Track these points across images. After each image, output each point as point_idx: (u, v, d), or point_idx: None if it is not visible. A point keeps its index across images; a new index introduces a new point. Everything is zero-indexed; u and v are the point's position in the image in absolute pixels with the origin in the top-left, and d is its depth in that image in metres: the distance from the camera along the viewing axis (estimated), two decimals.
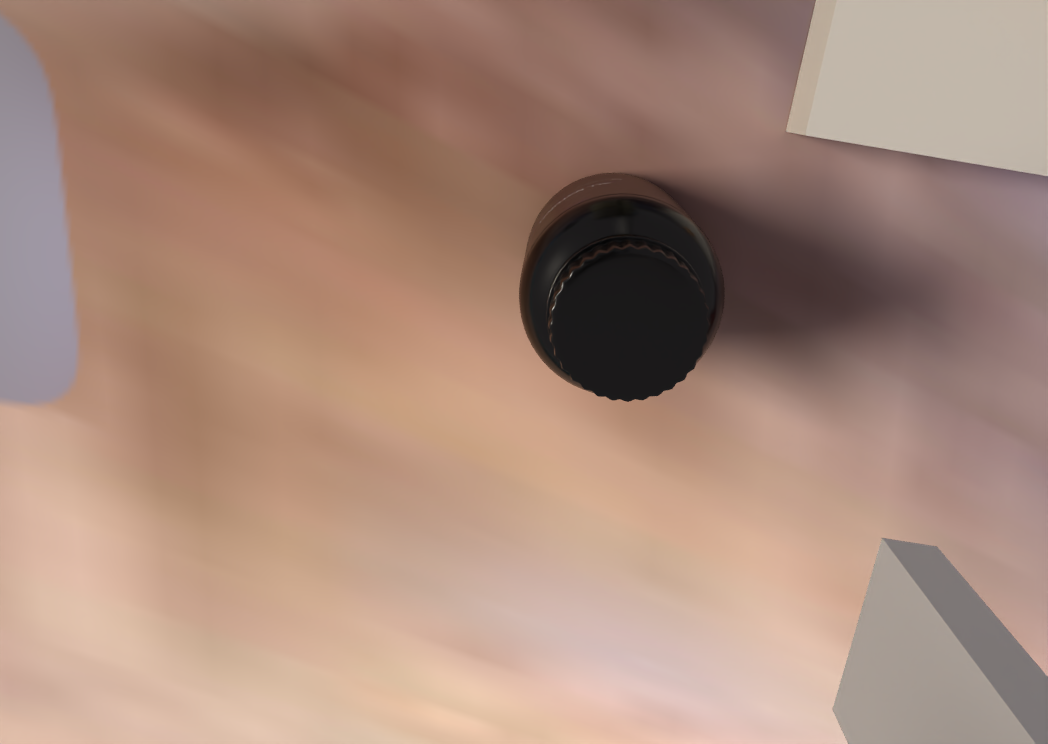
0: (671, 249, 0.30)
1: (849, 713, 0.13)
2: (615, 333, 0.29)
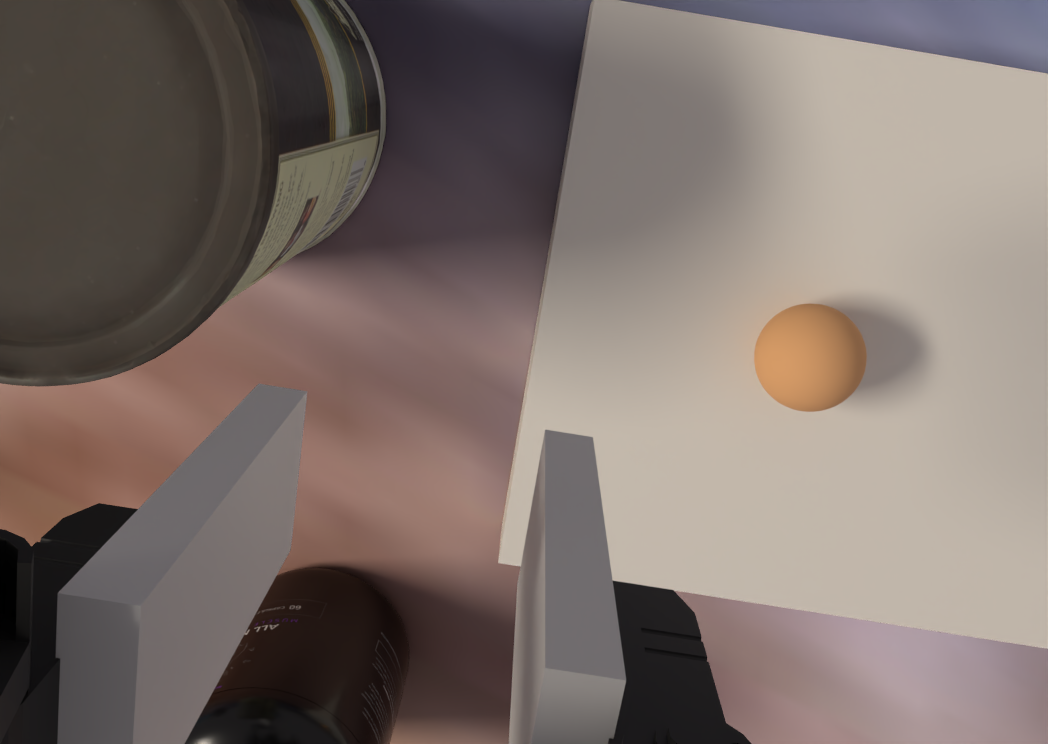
0: None
1: (519, 583, 0.15)
2: None
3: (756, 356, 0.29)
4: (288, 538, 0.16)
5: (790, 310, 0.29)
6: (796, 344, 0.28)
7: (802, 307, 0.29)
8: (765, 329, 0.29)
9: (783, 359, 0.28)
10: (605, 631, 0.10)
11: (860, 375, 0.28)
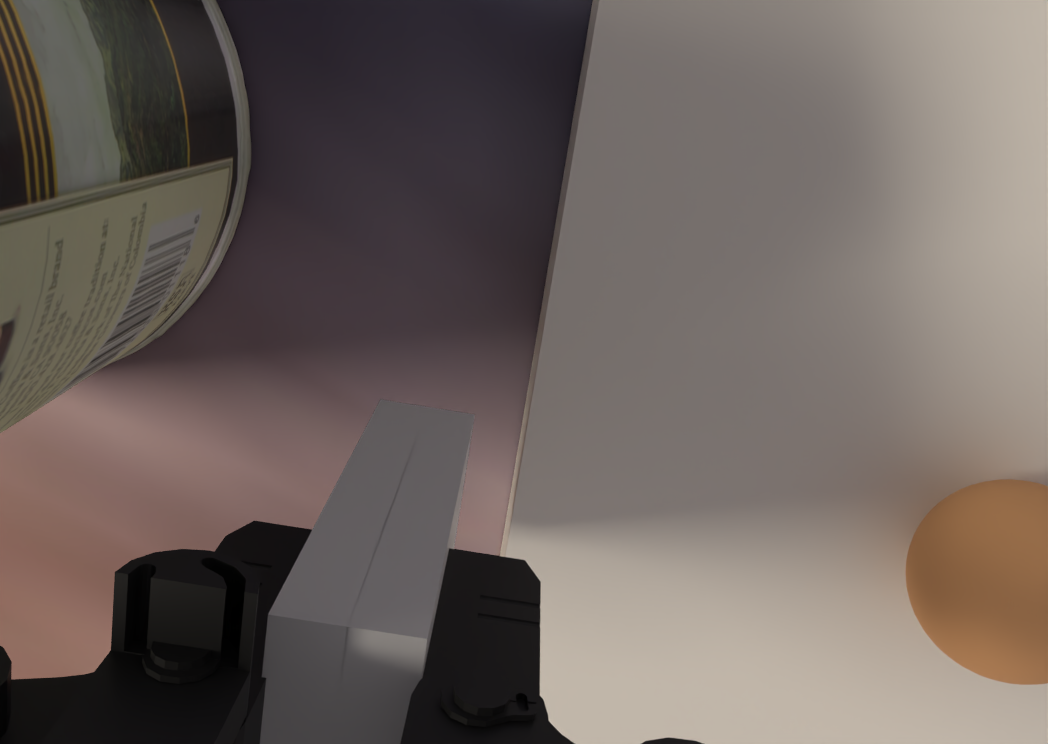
0: None
1: None
2: None
3: (915, 580, 0.16)
4: None
5: (982, 498, 0.15)
6: (1006, 575, 0.14)
7: (1005, 494, 0.15)
8: (933, 530, 0.16)
9: (979, 601, 0.15)
10: (421, 594, 0.10)
11: None
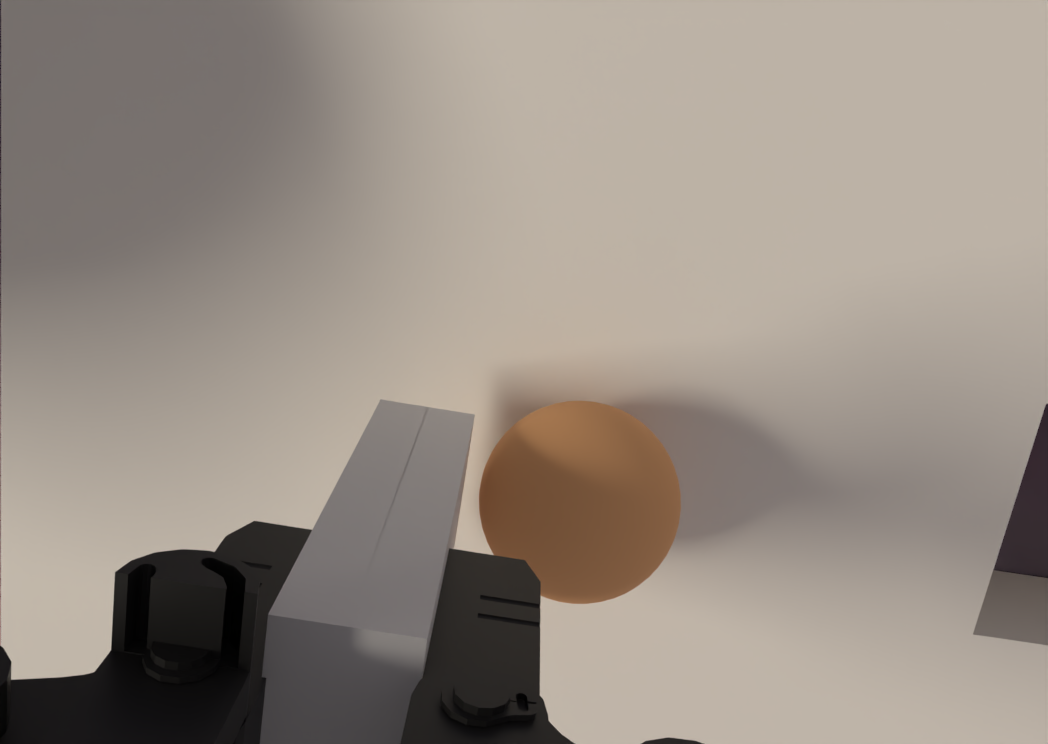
0: None
1: None
2: None
3: (552, 555, 0.14)
4: None
5: (581, 445, 0.14)
6: (647, 511, 0.14)
7: (594, 431, 0.15)
8: (554, 498, 0.14)
9: (632, 546, 0.14)
10: (422, 594, 0.10)
11: None
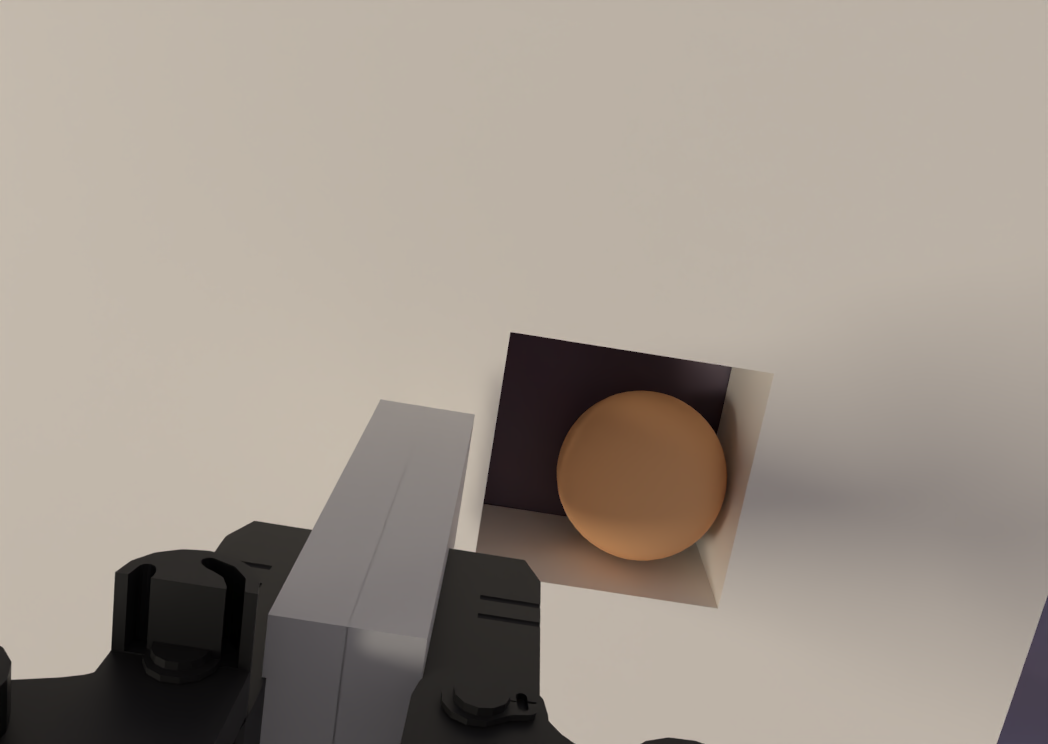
0: None
1: None
2: None
3: None
4: None
5: (703, 421, 0.18)
6: None
7: (690, 408, 0.18)
8: (724, 466, 0.18)
9: None
10: (422, 593, 0.10)
11: None
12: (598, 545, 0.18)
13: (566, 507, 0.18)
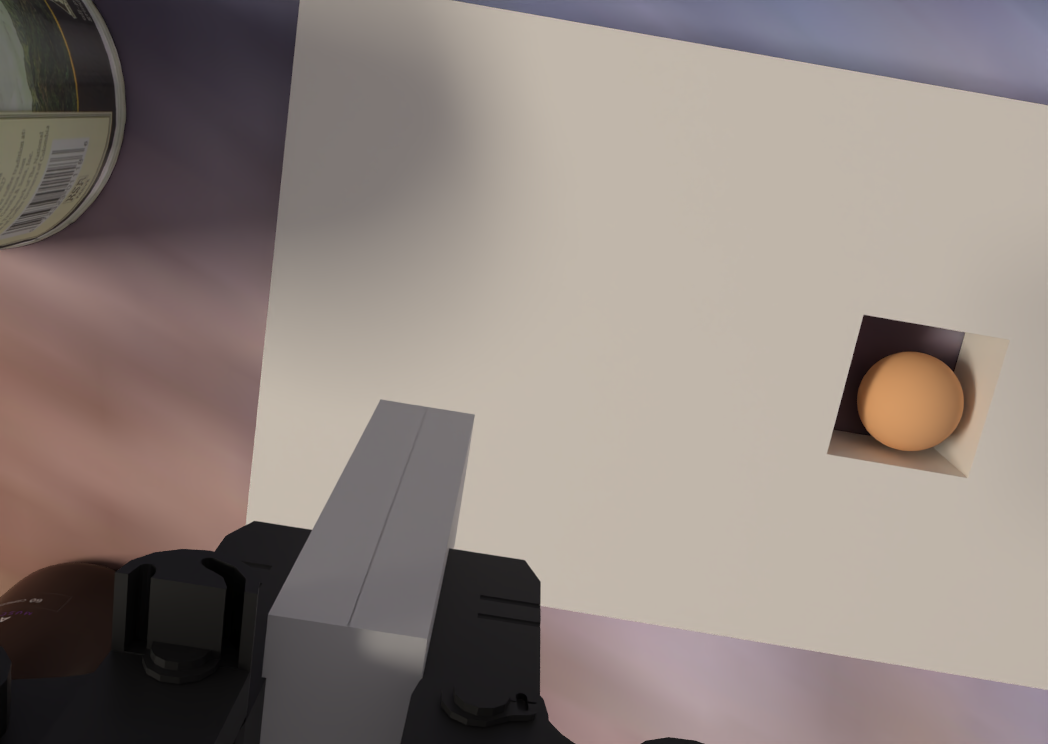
0: None
1: None
2: None
3: None
4: None
5: (950, 369, 0.31)
6: None
7: None
8: (962, 396, 0.31)
9: None
10: (421, 593, 0.10)
11: None
12: (884, 438, 0.31)
13: (865, 416, 0.32)
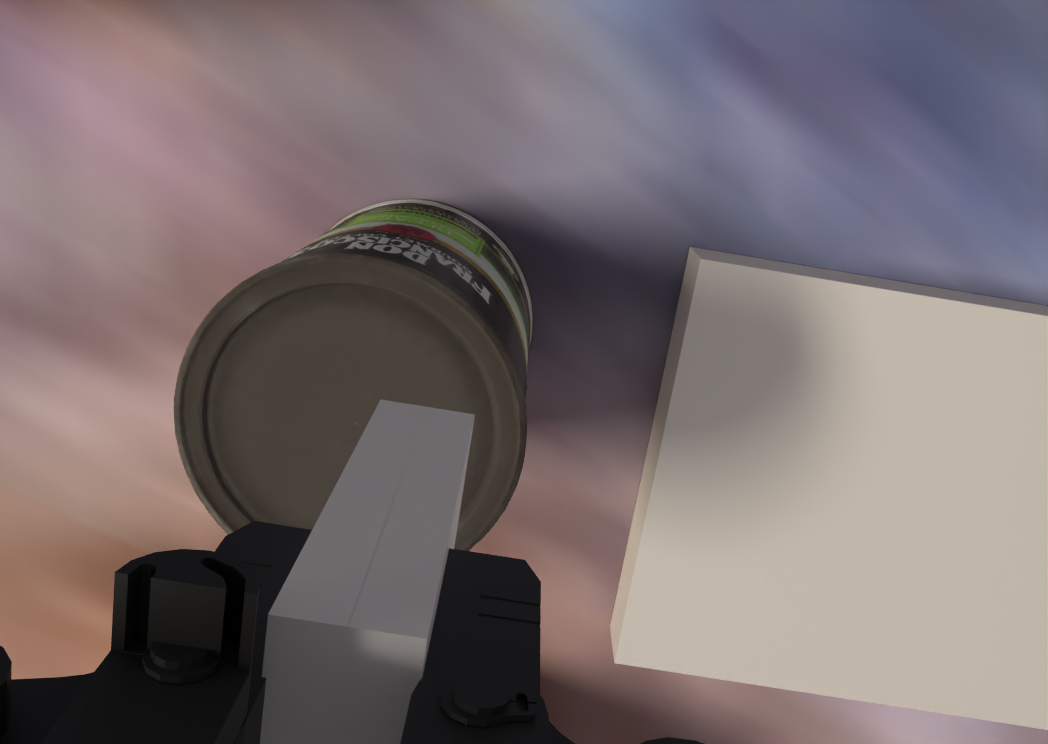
0: None
1: None
2: None
3: None
4: None
5: None
6: None
7: None
8: None
9: None
10: (422, 593, 0.10)
11: None
12: None
13: None
